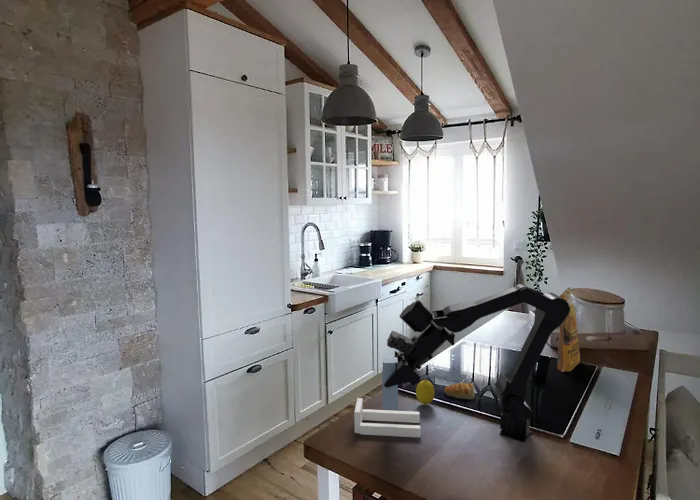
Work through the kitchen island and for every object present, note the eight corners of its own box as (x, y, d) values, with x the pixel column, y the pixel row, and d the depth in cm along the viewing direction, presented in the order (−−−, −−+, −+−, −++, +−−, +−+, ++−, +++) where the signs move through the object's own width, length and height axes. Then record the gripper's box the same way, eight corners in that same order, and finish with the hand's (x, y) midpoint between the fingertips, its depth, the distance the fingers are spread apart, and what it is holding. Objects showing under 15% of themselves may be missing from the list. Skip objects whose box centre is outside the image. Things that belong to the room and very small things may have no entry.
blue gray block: (397, 402, 123) (397, 357, 121) (397, 409, 119) (397, 363, 117) (382, 402, 123) (382, 357, 121) (382, 409, 119) (382, 362, 117)
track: (419, 420, 127) (419, 400, 126) (420, 437, 118) (420, 416, 117) (357, 417, 129) (357, 397, 128) (354, 434, 120) (354, 412, 119)
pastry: (444, 399, 140) (445, 387, 139) (443, 389, 146) (443, 378, 146) (475, 400, 138) (476, 388, 138) (472, 391, 145) (473, 379, 145)
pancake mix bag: (547, 370, 160) (551, 294, 156) (565, 355, 174) (569, 285, 170) (567, 375, 155) (572, 296, 151) (584, 360, 169) (588, 287, 165)
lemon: (434, 410, 132) (434, 384, 131) (415, 408, 133) (415, 383, 132) (434, 401, 138) (434, 376, 137) (416, 400, 139) (416, 375, 138)
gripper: (403, 312, 127) (365, 349, 129) (406, 333, 108) (361, 376, 111) (431, 339, 127) (392, 376, 129) (439, 365, 109) (394, 407, 111)
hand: (385, 382), depth 120 cm, fingers closed on blue gray block, 4 cm apart
